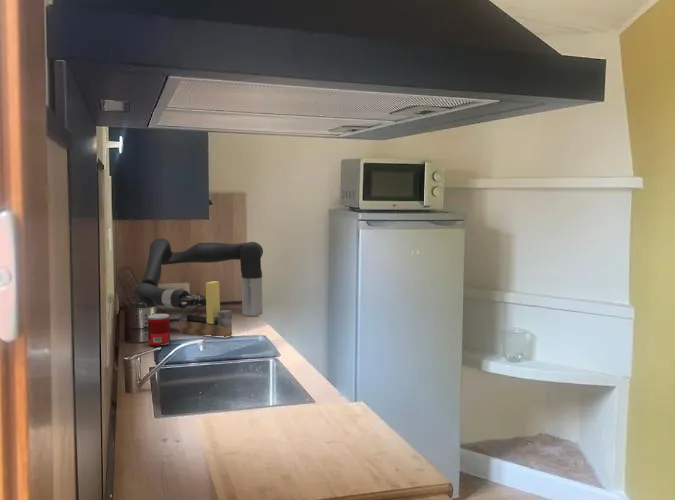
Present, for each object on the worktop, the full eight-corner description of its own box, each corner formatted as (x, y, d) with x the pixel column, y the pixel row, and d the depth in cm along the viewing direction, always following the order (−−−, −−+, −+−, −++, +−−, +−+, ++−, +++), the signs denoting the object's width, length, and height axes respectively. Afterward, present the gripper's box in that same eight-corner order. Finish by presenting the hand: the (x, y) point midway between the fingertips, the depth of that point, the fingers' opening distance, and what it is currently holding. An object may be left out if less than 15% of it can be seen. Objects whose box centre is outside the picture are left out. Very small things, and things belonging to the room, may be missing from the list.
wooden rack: (179, 332, 270) (178, 307, 269) (186, 330, 274) (185, 305, 273) (225, 338, 260) (224, 312, 258) (231, 336, 263) (231, 310, 262)
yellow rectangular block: (206, 323, 263) (205, 282, 261) (214, 320, 267) (213, 281, 265) (212, 323, 261) (211, 283, 260) (220, 321, 266) (219, 281, 264)
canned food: (174, 343, 252) (173, 315, 251) (155, 347, 246) (154, 318, 245) (163, 340, 257) (162, 312, 256) (144, 344, 251) (143, 315, 250)
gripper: (186, 304, 278) (220, 308, 270) (165, 310, 266) (199, 314, 258) (186, 287, 277) (219, 290, 269) (164, 292, 265) (198, 295, 258)
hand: (209, 302), depth 264 cm, fingers closed
